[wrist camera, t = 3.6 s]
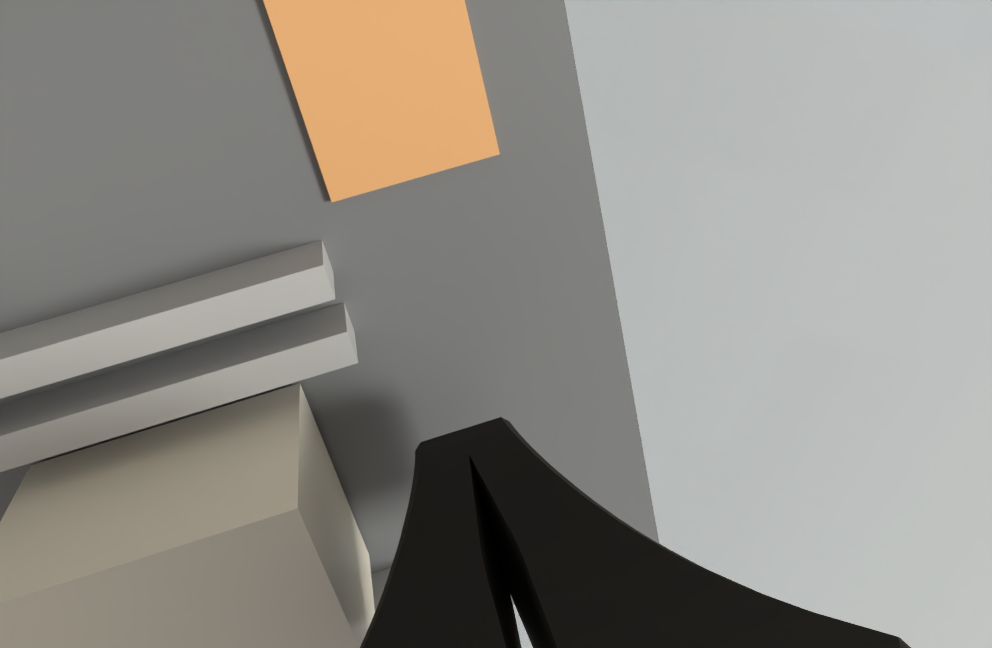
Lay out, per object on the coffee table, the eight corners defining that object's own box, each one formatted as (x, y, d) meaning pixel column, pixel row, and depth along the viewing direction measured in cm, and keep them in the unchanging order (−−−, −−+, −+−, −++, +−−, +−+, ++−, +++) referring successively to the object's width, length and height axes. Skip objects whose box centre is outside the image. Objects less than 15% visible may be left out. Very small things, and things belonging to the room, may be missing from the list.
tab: (369, 555, 14) (383, 703, 11) (133, 631, 13) (90, 804, 11) (299, 383, 12) (297, 509, 9) (30, 465, 12) (-53, 620, 9)
